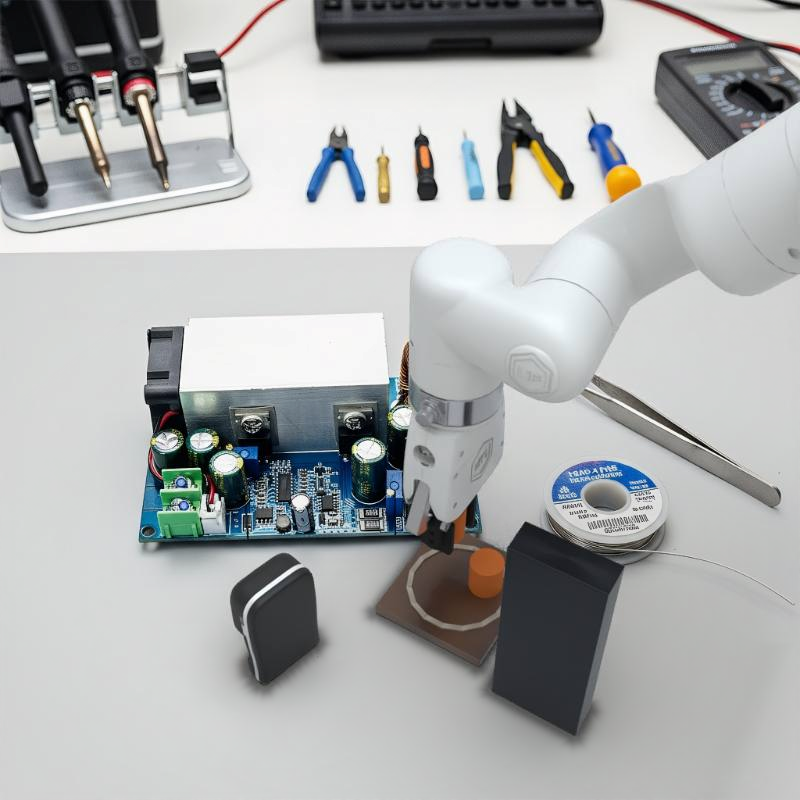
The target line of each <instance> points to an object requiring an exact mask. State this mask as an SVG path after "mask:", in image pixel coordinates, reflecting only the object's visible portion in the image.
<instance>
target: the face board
mask: <svg viewBox="0 0 800 800" xmlns="http://www.w3.org/2000/svg"><path fill="white" fill-rule="evenodd" d="M482 548H490V549H494V550H496V551H498V552H499V553H500V554H501V555H502V556H503V558H504V562H505V563H506V554H507V551H506V550H503V549H501V548H499V547H496V546H495V545H492V544H490V543H488V542H486V541H484V540H482V539H480V538H477V537H475V536H473V535H471V534H469V533H467V532H465V535H464V537H463V539H462V540H461V541H460V542H458V543H456V544H454V550H453V552H452V553H451V555H447V554H445V553H443V552H441V551H439V550H433V549H431V548H430V547H428V546H427V545H426V544H424V543H422V545H421V546H420V547H419V548H418V550H417V551H416V553H415V554H414V555H413V557H412V558H411V559H410V560H409V562H408V563H407V564H406V565H405V567H404V569H402V571H401V572H400V574H399V575H398V576H397V578H396V579H395V580H394V581H393V583H392V584H391V585H390V587H388V589H387V590H386V592H385V593H384V594H383V596H382V597H381V598H380V600H379V601H378V602H377V604H376V605H375V613H376V614H377V615H379V616H381V617H384V618H385V619H387V620H388V621H391V622H392V623H395V624H397V625H398V626H401V627H402V628H405V629H406V630H408V631H410V632H412V633H414V634H416V635H417V636H420V637H421V638H423V639H425V640H426V641H429V642H431V643H433V644H435V645H437V646H438V647H440V648H442V649H444V650H446V651H448V652H450V653H452V654H453V655H456V656H458V657H459V658H461V659H463V660H465V661H467V662H469V663H471V664H472V665H474V666H476V667H478V668H479V667H481V665H482V663H483V662H484V661H485V659H486V657H487V656H488V654H489V652H490V651H491V649H492V648H493V647H494V645H495V644H496V643H497V637H498V628H499V618H500V609H501V600H502V591H503V584H502V589H501V591H500V593H499V594H498V595H496V596H495V597H492V598H480V597H477V596H476V595H474V594H473V593H472V592H471V591H470V589H469V586H468V578H469V564H470V557H471V555H472V554H473V553H474V552H475V551H477V550H479V549H482ZM504 573H505V565H504ZM503 582H504V574H503Z"/></svg>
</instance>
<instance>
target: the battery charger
mask: <svg viewBox="0 0 800 800" xmlns="http://www.w3.org/2000/svg"><path fill="white" fill-rule="evenodd" d="M229 605H230V610H231V612H230V613H231V617H232V621H233V624H234V627H235V629H236V630H237V631H238V632H239V633H240V634H241V635H242V636H243V638H244V643H245V647H246V650H247V653H248V658H247V666H248V668H249V670H250V672H251V673H252V675H253V676H254V677H255V679H256V680H257V681H258V682H260V683H262V684H263V685H267V684H268V683H270V682H271V681H272V680H274V679H275V678H276V677H277V676H279V675H280V674H281V673H283V672H284V671H285V670H286V669H288V668H289V667H290V666H292V664H294V663H295V662H296V661H297V660H299V659H300V658H301V657H303V656H304V655H305V654H306V653H307V652H309V651H310V650H312V648H313V647H315V646H316V645H317V644H318V643H319V642H320V635H319V634H320V633H319V625H318V607H317V606H318V603H317V593H316V586H315V579H314V576H313V573H312V572H311V570H310V568H309V567H308V566H306V565H305V564H304V563H302V562H300V561H299V560H298V559H297V558H296V557H295V556H293V555H292V554H290V553H289V552H288V553H287V552H281V553H277V554H276V555H274V556H272V557H270V558H269V559H268V560H266V561H264V562H263V563H262V564H261V565H259V566H258V567H256V568H255V569H254V570H252V571H251V572H250V573H248V574H246V576H244V577H243V578H242V579H240V580H239V581H238V582H237V583H235V585H234V586H233V587H232V589H231V592H230V596H229Z"/></svg>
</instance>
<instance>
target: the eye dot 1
mask: <svg viewBox="0 0 800 800" xmlns="http://www.w3.org/2000/svg"><path fill="white" fill-rule="evenodd" d="M430 509H432V508H431V507H430ZM466 511H467V507H466V509H465V510H464V511H463V513H462V514H461V515H460V516H459V517H458V518H457V519H456V520H454V521H452V522H453V523H454V524H455V537H454V544H456V543H458V542H460V541H461V540H462V539H463V537H464V535H465V533H466V525H465V524H466Z"/></svg>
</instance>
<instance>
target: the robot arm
mask: <svg viewBox="0 0 800 800" xmlns="http://www.w3.org/2000/svg"><path fill="white" fill-rule="evenodd" d="M697 271H699V272H700V273H701V274H702V275H703V276H704V277H705V278H706V279H707V280H709V281H710V282H711V283H712V284H713V285H714V286H716V287H717V288H718V289H720V290H721V291H723V292H725V293H728V294H731V295H734V296H738V297H753V296H758V295H762V294H763V293H765V292H767V291H770V290H772V289H774V288H776V287H777V286H779V285H781V284H783V283H785V282H788V281H789V280H791V279H793V278H795V277H797V276H799V275H800V101H798V102H797V103H795V104H794V105H792V106H791V107H789V108H788V109H786V110H784V111H783V112H781V113H780V114H778V115H777V116H775V117H774V118H772V119H770V120H768V121H767V122H766V123H764V124H763V125H761V126H759V127H758V128H756V129H755V130H753V131H751V132H750V133H749V134H747V135H746V136H744V137H742V138H741V139H739V140H738V141H736V142H734V143H733V144H731V145H730V146H728V147H726V148H725V149H723V150H722V151H720V152H718V153H717V154H716V155H714V156H713V157H710V159H708V160H706V161H705V162H703V163H701V164H700V165H698V166H697V167H695V168H693V169H691V170H689V171H688V172H685V173H683V174H682V173H681V174H676V175H672V176H669V177H666V178H663V179H660V180H655V181H652V182H649V183H646V184H644V185H641V186H638V187H636V188H635V189H632V190H631V191H628V192H627V193H625V194H623V195H622V196H620V197H618V198H617V199H615V200H614V201H612V202H611V203H609V204H608V205H606V206H605V207H603V208H602V209H600V210H599V211H597V212H596V213H594V214H593V215H591V216H590V217H588V218H587V219H585V220H584V221H582V222H581V223H579V224H577V225H576V226H575V227H573V228H572V229H571V230H569V231H568V232H566V233H565V234H564V235H562V236H561V237H560V238H559V239H558V240H557V241H556V242H555V243H554V244H553V245H552V246H551V247H549V249H548V250H547V251H546V252H545V254H544V255H543V257H542V258H541V259H540V260H539V262H538V263H537V265H536V266H534V268H533V269H532V272H531V273H530V274H529V276H528V277H527V279H526V280H525V282H524V283H523V284H522V285H520V286H518V285H515V284H514V283H515V282H514V281H515V274H514V269H513V266H512V264H511V262H510V260H509V258H508V257H507V255H506V254H505V253H504V252H503V251H502V250H500V248H498V247H497V246H495V245H493V244H491V243H489V242H487V241H484V240H481V239H477V238H473V237H472V238H471V237H462V236H461V237H459V236H458V237H449V238H444V239H440V240H438V241H436V242H433V243H431V244H429V245H427V246H426V247H425V248H424V249H422V250H421V251H420V252H419V253H418V254H417V256H416V257H415V259H414V261H413V264H412V265H411V269H410V274H409V275H410V276H409V309H408V310H409V316H408V317H409V318H408V319H409V320H408V321H409V323H408V324H409V325H408V326H409V327H408V342H409V343H408V405H409V408H410V410H411V413H410V417H409V423H408V429H407V433H406V434H407V435H406V441H405V450H404V459H403V477H402V490H403V497H404V501H405V503H406V504H407V505H410V508H409V513H408V516H407V520H406V523H405V525H404V526H405V527H404V530H405V531H406V532H409V533H411V534H413V535H415V536H417V537H419V536H420V538H419V539H420V541H421V543H422V544H426V545H427V546H428V547H430V548H431V549H433V550H439V551H441V552H443V553H445V554H447V555H451V553H452V552H453V550H454V537H455V524H454V523H453V522H452V521H454V520H456V519H457V518H458V517H459V516H460V515H461V514H462V513H463V511H464V510H465V509H466V507H467V511H466V524H465V526H467V527H472V526H473V525H474V524H475V522H476V516H477V515H476V514H477V501H478V494H479V492H480V491H481V490H482V489H483V487H484V485H485V484H486V483H487V481H488V480H489V479H490V477H491V476H492V474H493V473H494V471H495V470H496V468H497V467H498V465H499V463H500V462H501V460H502V458H503V453H504V443H505V425H506V408H505V407H506V403H505V402H506V401H505V391H504V385H506V386H508V387H510V388H512V389H513V390H514V391H516V392H518V393H520V394H522V395H523V396H526V397H528V398H530V399H533V400H536V401H539V402H543V403H548V404H562V403H565V402H566V403H567V402H569V401H572V400H573V399H575V398H577V397H578V396H580V395H581V394H582V393H583V392H584V391H585V390H586V388H587V387H588V386H589V384H590V383H591V381H593V378H594V376H595V375H596V373H597V371H598V369H599V368H600V366H601V363H602V361H603V360H604V358H605V355H606V354H607V352H608V350H609V348H610V346H611V344H612V342H613V340H614V338H616V337H615V336H616V335H617V333H618V331H619V330H620V327H621V325H622V323H623V321H624V320H625V318H626V316H627V315H628V313H629V311H630V309H631V308H632V307H633V306H635V305H636V304H638V302H640V301H641V300H643V299H645V298H646V297H648V296H650V295H652V294H653V293H655V292H657V291H658V290H661V289H662V288H664V287H665V286H668V285H669V284H671V283H673V282H675V281H677V280H679V279H681V278H683V277H685V276H687V275H689V274H691V273H695V272H697ZM431 508H432V509H431Z"/></svg>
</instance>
